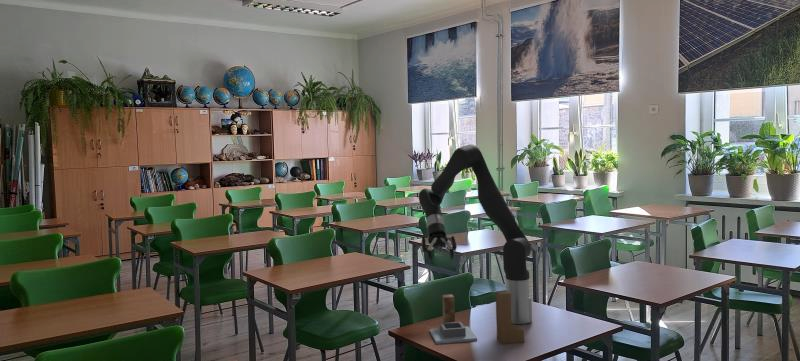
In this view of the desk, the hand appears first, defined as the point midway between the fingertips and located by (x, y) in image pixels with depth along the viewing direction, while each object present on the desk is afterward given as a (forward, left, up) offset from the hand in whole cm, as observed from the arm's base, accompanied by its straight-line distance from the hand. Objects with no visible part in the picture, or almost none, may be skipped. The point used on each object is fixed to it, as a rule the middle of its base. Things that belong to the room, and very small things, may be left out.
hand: (441, 259), depth 242 cm
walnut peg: (0, +13, -24) cm, 27 cm away
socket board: (+1, +25, -24) cm, 34 cm away
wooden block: (-18, +35, -24) cm, 46 cm away
